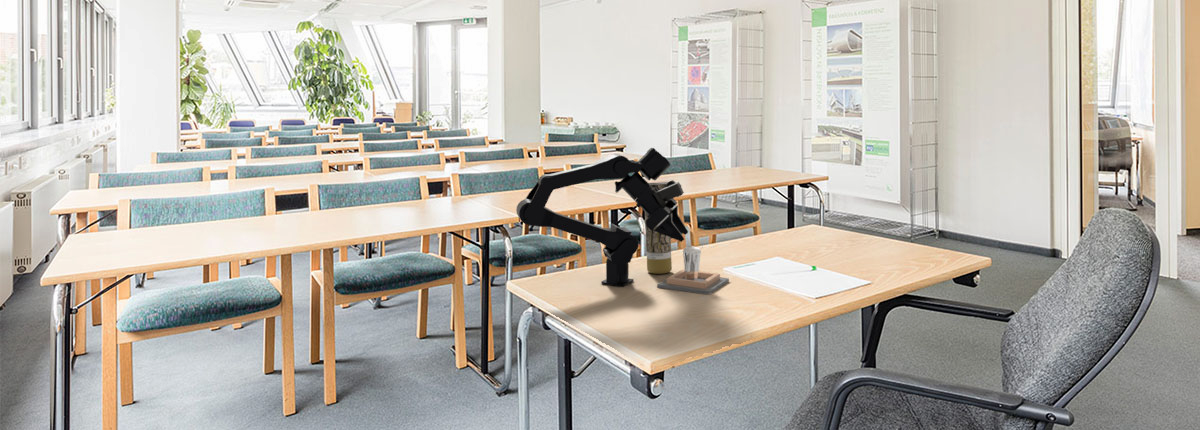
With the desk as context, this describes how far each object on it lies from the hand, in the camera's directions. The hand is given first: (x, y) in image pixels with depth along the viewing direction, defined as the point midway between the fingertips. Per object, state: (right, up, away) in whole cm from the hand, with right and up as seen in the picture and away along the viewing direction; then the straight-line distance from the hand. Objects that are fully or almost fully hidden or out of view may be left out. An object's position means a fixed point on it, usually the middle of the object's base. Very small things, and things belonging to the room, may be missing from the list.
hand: (685, 236), depth 181 cm
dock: (+2, -12, +2) cm, 13 cm away
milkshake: (+2, -12, +2) cm, 12 cm away
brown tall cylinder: (-5, -10, +14) cm, 18 cm away
